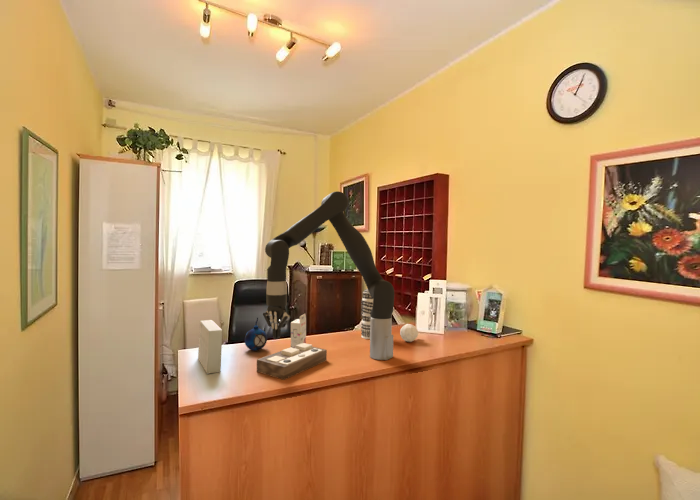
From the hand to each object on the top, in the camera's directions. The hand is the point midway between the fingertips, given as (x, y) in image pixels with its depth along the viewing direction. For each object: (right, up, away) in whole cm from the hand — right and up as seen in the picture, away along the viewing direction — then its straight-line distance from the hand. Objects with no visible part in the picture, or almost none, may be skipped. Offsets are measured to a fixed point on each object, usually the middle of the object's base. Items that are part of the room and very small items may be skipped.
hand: (276, 338), depth 130 cm
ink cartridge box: (+3, -12, +34) cm, 36 cm away
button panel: (+5, -12, +6) cm, 15 cm away
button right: (+8, -9, +14) cm, 19 cm away
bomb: (-15, -12, +25) cm, 31 cm away
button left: (0, -11, 0) cm, 11 cm away
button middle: (+4, -9, +7) cm, 12 cm away
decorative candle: (+38, -12, +51) cm, 64 cm away
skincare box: (-28, -12, +6) cm, 31 cm away
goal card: (+9, -8, +4) cm, 13 cm away
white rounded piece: (+59, -13, +44) cm, 75 cm away
